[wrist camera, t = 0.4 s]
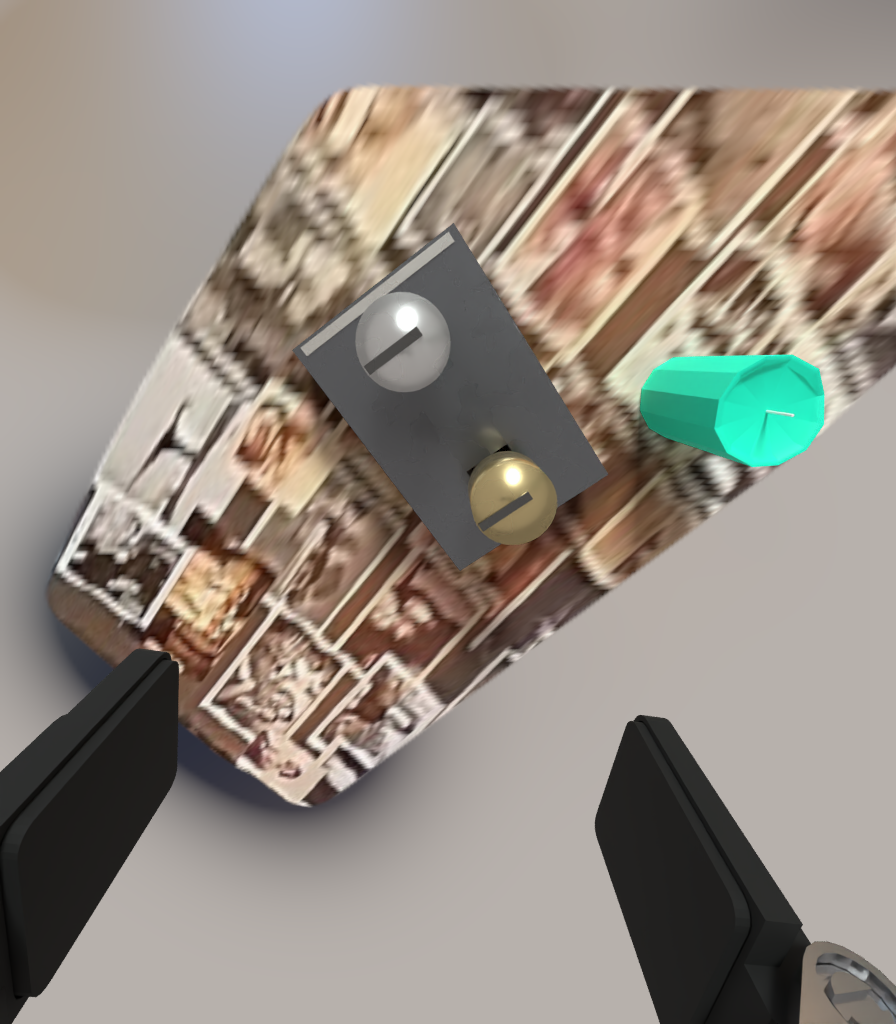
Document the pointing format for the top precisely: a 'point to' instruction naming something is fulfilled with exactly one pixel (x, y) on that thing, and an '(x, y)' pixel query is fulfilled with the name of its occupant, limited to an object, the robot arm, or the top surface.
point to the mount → (453, 398)
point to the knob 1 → (403, 342)
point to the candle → (737, 405)
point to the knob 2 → (511, 498)
